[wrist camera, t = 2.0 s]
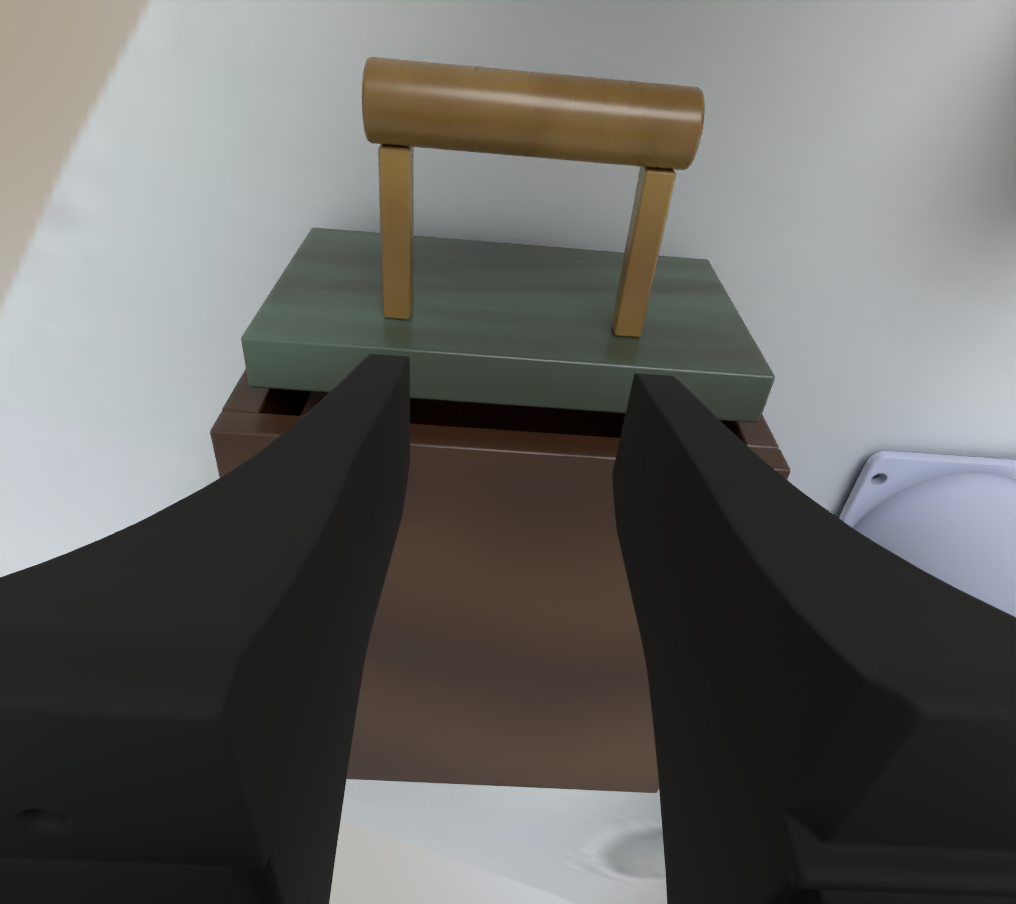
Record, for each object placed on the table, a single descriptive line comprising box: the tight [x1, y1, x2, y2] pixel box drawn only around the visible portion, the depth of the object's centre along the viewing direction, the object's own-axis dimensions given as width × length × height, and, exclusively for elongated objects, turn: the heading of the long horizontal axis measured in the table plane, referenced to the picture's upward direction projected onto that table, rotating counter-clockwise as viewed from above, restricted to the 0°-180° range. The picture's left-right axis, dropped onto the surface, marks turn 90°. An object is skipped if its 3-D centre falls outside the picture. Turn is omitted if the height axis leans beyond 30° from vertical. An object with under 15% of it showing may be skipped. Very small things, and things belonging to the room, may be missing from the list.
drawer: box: [241, 57, 775, 438], centre depth 19 cm, size 17×11×6 cm, turn 175°
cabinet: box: [210, 370, 790, 793], centre depth 22 cm, size 14×12×8 cm
